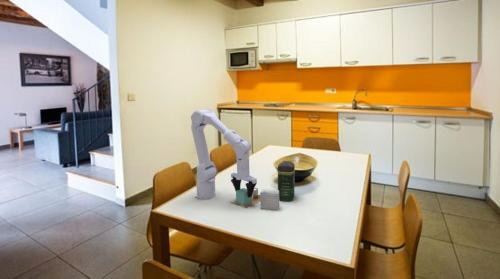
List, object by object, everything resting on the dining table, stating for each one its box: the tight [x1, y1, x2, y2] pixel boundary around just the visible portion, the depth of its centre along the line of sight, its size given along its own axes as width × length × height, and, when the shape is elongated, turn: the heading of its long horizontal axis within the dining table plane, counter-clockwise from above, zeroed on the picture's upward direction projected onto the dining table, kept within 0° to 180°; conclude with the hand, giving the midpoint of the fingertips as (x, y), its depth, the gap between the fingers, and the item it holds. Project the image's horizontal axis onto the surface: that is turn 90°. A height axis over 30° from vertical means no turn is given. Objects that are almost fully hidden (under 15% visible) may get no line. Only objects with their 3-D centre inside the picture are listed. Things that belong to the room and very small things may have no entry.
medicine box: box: [259, 188, 281, 211], centre depth 134 cm, size 8×4×9 cm, turn 74°
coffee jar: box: [277, 160, 296, 203], centre depth 144 cm, size 10×8×19 cm
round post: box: [253, 187, 259, 199], centre depth 146 cm, size 3×3×4 cm
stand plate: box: [230, 194, 261, 209], centre depth 144 cm, size 10×16×1 cm, turn 138°
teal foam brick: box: [235, 187, 252, 206], centre depth 140 cm, size 5×5×6 cm
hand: (243, 195), depth 140 cm, fingers open, 7 cm apart
